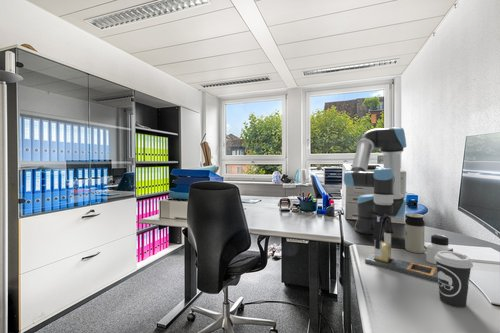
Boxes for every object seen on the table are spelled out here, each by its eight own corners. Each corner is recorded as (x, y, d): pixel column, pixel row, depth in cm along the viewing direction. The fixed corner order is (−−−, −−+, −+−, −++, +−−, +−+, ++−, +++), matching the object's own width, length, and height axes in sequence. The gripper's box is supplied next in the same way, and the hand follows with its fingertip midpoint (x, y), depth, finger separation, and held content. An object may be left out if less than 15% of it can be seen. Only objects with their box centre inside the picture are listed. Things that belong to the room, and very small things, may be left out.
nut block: (378, 260, 112) (378, 241, 112) (390, 263, 108) (391, 244, 108) (375, 263, 108) (375, 244, 108) (387, 266, 105) (387, 247, 105)
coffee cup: (476, 314, 72) (476, 263, 72) (435, 304, 77) (435, 257, 77) (468, 298, 80) (469, 253, 80) (432, 290, 85) (432, 248, 85)
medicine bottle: (444, 267, 103) (444, 239, 103) (426, 261, 110) (426, 234, 109) (453, 264, 107) (453, 236, 106) (434, 258, 113) (434, 232, 113)
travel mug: (425, 250, 123) (425, 214, 123) (422, 254, 117) (423, 217, 117) (407, 246, 129) (407, 212, 128) (403, 250, 123) (403, 215, 122)
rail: (371, 256, 116) (371, 252, 116) (441, 273, 98) (441, 269, 98) (365, 262, 109) (365, 258, 109) (438, 282, 91) (438, 277, 91)
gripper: (382, 199, 119) (382, 242, 120) (364, 206, 101) (364, 257, 102) (400, 200, 114) (399, 246, 115) (384, 208, 96) (383, 262, 97)
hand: (383, 251), depth 108 cm, fingers open, 13 cm apart
